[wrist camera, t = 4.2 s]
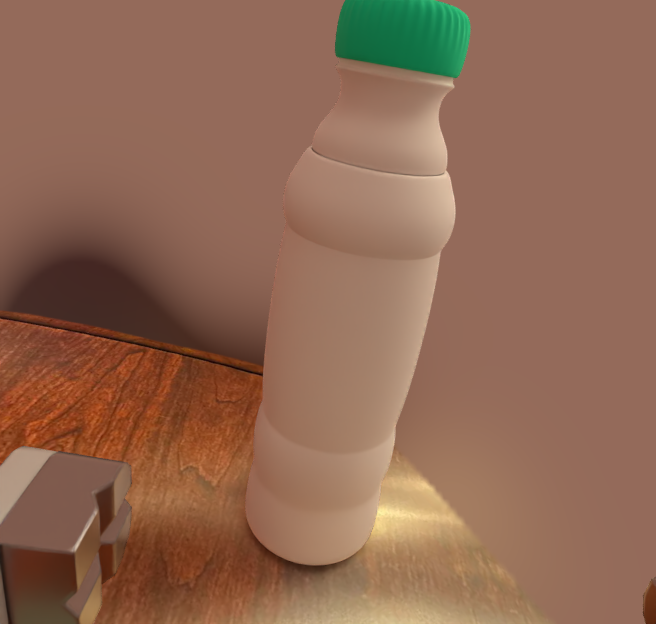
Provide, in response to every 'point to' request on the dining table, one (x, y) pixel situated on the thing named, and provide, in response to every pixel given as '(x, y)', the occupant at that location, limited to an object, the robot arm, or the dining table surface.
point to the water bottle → (355, 280)
